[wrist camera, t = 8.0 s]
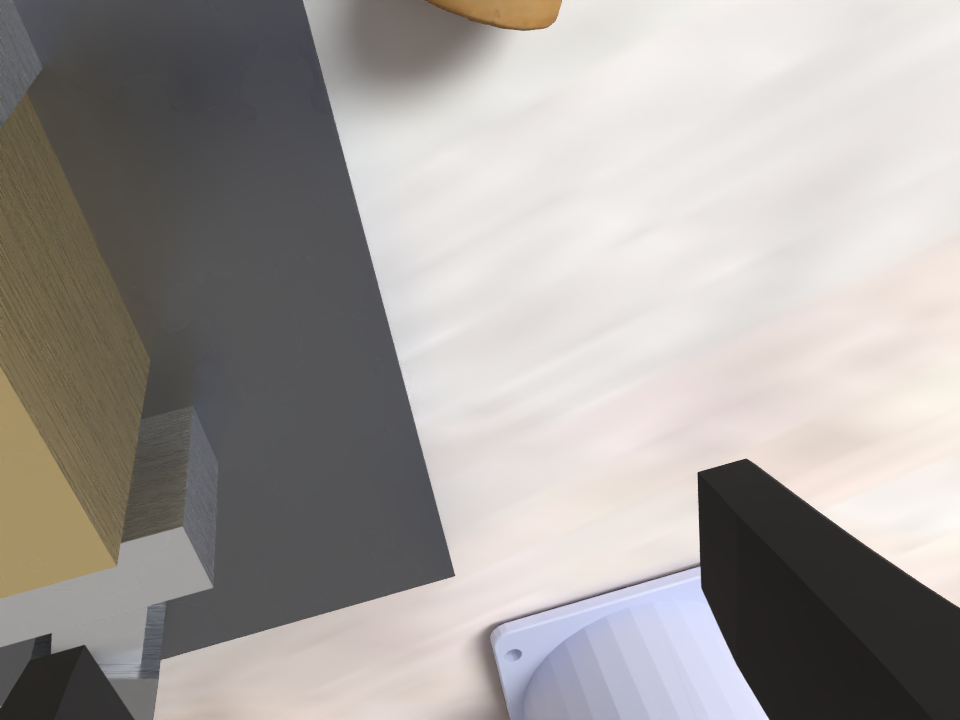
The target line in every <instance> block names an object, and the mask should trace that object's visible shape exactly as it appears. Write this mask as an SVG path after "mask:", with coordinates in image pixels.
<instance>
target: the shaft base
mask: <svg viewBox="0 0 960 720" xmlns="http://www.w3.org/2000/svg"><path fill="white" fill-rule="evenodd" d="M26 92H27V94H28V96H29V98H30V101H31V103H32V105H33V107H34V109H35V111H36V114H37V116H38V118H39V120H40V122H41V124H42V127H43V129H44V131H45V133H46V135H47V137H48V140H49V142H50V144H51V146H52V148H53V150H54V153H55V155H56V157H57V159H58V161H59V163H60V166H61V168H62V170H63V172H64V174H65V176H66V179H67V181H68V183H69V185H70V187H71V189H72V192H73V194H74V196H75V198H76V200H77V202H78V205H79V207H80V209H81V211H82V213H83V216H84V218H85V220H86V222H87V224H88V226H89V229H90V231H91V233H92V235H93V237H94V239H95V242H96V244H97V246H98V248H99V250H100V252H101V255H102V257H103V259H104V261H105V263H106V265H107V268H108V270H109V272H110V274H111V276H112V278H113V281H114V283H115V285H116V287H117V289H118V291H119V294H120V296H121V298H122V300H123V302H124V304H125V307H126V309H127V311H128V313H129V315H130V317H131V320H132V322H133V324H134V326H135V328H136V330H137V333H138V335H139V337H140V339H141V341H142V343H143V346H144V348H145V350H146V352H147V354H148V357H149V359H150V366H149V372H148V379H147V385H146V391H145V397H144V403H143V409H142V415H141V422H140V428H139V434H138V440H137V446H136V452H135V458H134V465H133V471H132V477H131V483H130V489H129V495H128V501H127V507H126V514H125V520H124V526H123V532H122V538H121V544H120V550H119V557H118V563H117V567H113V568H110V569H106V570H102V571H99V572H95V573H91V574H88V575H84V576H81V577H77V578H73V579H70V580H66V581H62V582H59V583H55V584H51V585H48V586H44V587H40V588H37V589H33V590H30V591H26V592H22V593H19V594H15V595H11V596H8V597H4V598H0V706H1V705H3V703H4V702H5V700H6V698H7V697H8V695H9V693H10V692H11V690H12V688H13V687H14V685H15V683H16V682H17V680H18V679H19V677H20V675H21V674H22V672H23V671H24V669H25V667H26V666H27V664H28V662H29V661H30V660H32V659H36V658H39V657H43V656H46V655H50V654H54V653H57V652H61V651H64V650H68V649H71V648H75V647H78V646H82V645H85V646H86V647H87V649H88V650H89V652H90V653H91V655H92V656H93V658H94V659H95V661H96V662H97V664H98V665H99V667H100V668H101V670H102V671H103V673H104V674H105V676H106V677H107V679H108V680H109V682H110V683H111V685H112V686H113V688H114V689H115V691H116V692H117V694H118V695H119V697H120V698H121V700H122V701H123V703H124V704H125V706H126V707H127V709H128V710H129V712H130V713H131V715H132V716H133V718H134V719H135V720H153V717H154V709H155V702H156V694H157V687H158V679H159V669H160V660H162V659H166V658H169V657H173V656H176V655H180V654H183V653H187V652H190V651H194V650H197V649H201V648H204V647H208V646H211V645H215V644H218V643H222V642H225V641H229V640H233V639H236V638H240V637H243V636H247V635H250V634H254V633H257V632H261V631H264V630H268V629H271V628H275V627H278V626H282V625H285V624H289V623H292V622H296V621H299V620H303V619H306V618H310V617H313V616H317V615H320V614H324V613H327V612H331V611H334V610H338V609H341V608H345V607H348V606H352V605H355V604H359V603H362V602H366V601H369V600H373V599H376V598H380V597H383V596H387V595H390V594H394V593H397V592H401V591H404V590H408V589H411V588H415V587H418V586H422V585H426V584H429V583H433V582H436V581H440V580H443V579H447V578H450V577H454V576H455V574H454V570H453V566H452V562H451V558H450V555H449V551H448V547H447V543H446V540H445V536H444V532H443V528H442V524H441V521H440V517H439V513H438V509H437V506H436V502H435V498H434V494H433V491H432V487H431V483H430V479H429V475H428V472H427V468H426V464H425V460H424V457H423V453H422V449H421V445H420V441H419V438H418V434H417V430H416V426H415V423H414V419H413V415H412V411H411V407H410V404H409V400H408V396H407V392H406V389H405V385H404V381H403V377H402V373H401V370H400V366H399V362H398V358H397V355H396V351H395V347H394V343H393V340H392V336H391V332H390V328H389V324H388V321H387V317H386V313H385V309H384V306H383V302H382V298H381V294H380V290H379V287H378V283H377V279H376V275H375V272H374V268H373V264H372V260H371V256H370V253H369V249H368V245H367V241H366V238H365V234H364V230H363V226H362V223H361V219H360V215H359V211H358V207H357V204H356V200H355V196H354V192H353V189H352V185H351V181H350V177H349V173H348V170H347V166H346V162H345V158H344V155H343V151H342V147H341V143H340V139H339V136H338V132H337V128H336V124H335V121H334V117H333V113H332V109H331V106H330V102H329V98H328V94H327V90H326V87H325V83H324V79H323V75H322V72H321V68H320V64H319V60H318V56H317V53H316V49H315V45H314V41H313V38H312V34H311V30H310V26H309V22H308V19H307V15H306V11H305V7H304V4H303V0H0V129H1V127H2V126H3V124H4V123H5V122H6V120H7V119H8V117H9V116H10V114H11V113H12V111H13V110H14V109H15V107H16V106H17V104H18V103H19V101H20V100H21V99H22V97H23V96H24V94H25V93H26Z"/></svg>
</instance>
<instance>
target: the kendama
mask: <svg viewBox="0 0 960 720" xmlns="http://www.w3.org/2000/svg"><path fill="white" fill-rule="evenodd" d="M425 1H427V2H429V3H431V4H433V5H435V6H437V7H439V8H441V9H444V10H446V11H448V12H451V13H454V14H457V15H460V16H463V17H466V18H468V19H469V20H471V21H474V22H478V23H482V24H486V25H491V26H495V27H498V28H503V29H513V30H521V31H525V30H535V29H543V28H547V27H549V26H550V25H551V24H552V23H554V22H555V21H556V19H557V16H558V13H559V9H560V6H561V2H562V0H425Z"/></svg>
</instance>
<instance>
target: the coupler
mask: <svg viewBox="0 0 960 720" xmlns="http://www.w3.org/2000/svg"><path fill="white" fill-rule="evenodd" d="M149 366H150V359H149V357H148V354H147V352H146V350H145V348H144V346H143V343H142V341H141V339H140V337H139V335H138V333H137V330H136V328H135V326H134V324H133V322H132V320H131V317H130V315H129V313H128V311H127V309H126V307H125V304H124V302H123V300H122V298H121V296H120V294H119V291H118V289H117V287H116V285H115V283H114V281H113V278H112V276H111V274H110V272H109V270H108V268H107V265H106V263H105V261H104V259H103V257H102V255H101V252H100V250H99V248H98V246H97V244H96V242H95V239H94V237H93V235H92V233H91V231H90V229H89V226H88V224H87V222H86V220H85V218H84V216H83V213H82V211H81V209H80V207H79V205H78V202H77V200H76V198H75V196H74V194H73V192H72V189H71V187H70V185H69V183H68V181H67V179H66V176H65V174H64V172H63V170H62V168H61V166H60V163H59V161H58V159H57V157H56V155H55V153H54V150H53V148H52V146H51V144H50V142H49V140H48V137H47V135H46V133H45V131H44V129H43V127H42V124H41V122H40V120H39V118H38V116H37V114H36V111H35V109H34V107H33V105H32V103H31V101H30V98H29V96H28V94H27V92H26V93H25V94H24V96H23V97H22V99H21V100H20V101H19V103H18V104H17V106H16V107H15V109H14V110H13V111H12V113H11V114H10V116H9V117H8V119H7V120H6V122H5V123H4V124H3V126H2V127H1V129H0V598H4V597H8V596H11V595H15V594H19V593H22V592H26V591H30V590H33V589H37V588H40V587H44V586H48V585H51V584H55V583H59V582H62V581H66V580H70V579H73V578H77V577H81V576H84V575H88V574H91V573H95V572H99V571H102V570H106V569H110V568H113V567H117V563H118V557H119V550H120V544H121V538H122V532H123V526H124V520H125V514H126V507H127V501H128V495H129V489H130V483H131V477H132V471H133V465H134V458H135V452H136V446H137V440H138V434H139V428H140V422H141V415H142V409H143V403H144V397H145V391H146V385H147V379H148V372H149Z"/></svg>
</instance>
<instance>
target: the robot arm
mask: <svg viewBox="0 0 960 720" xmlns="http://www.w3.org/2000/svg"><path fill="white" fill-rule="evenodd" d="M698 503H699V536H700V567H696V568H693V569H689V570H686V571H682V572H679V573H675V574H672V575H669V576H665V577H662V578H658V579H655V580H651V581H648V582H645V583H641V584H638V585H634V586H631V587H627V588H624V589H621V590H617V591H614V592H610V593H607V594H603V595H600V596H597V597H593V598H590V599H586V600H583V601H579V602H576V603H572V604H569V605H566V606H562V607H559V608H555V609H552V610H548V611H545V612H542V613H538V614H535V615H531V616H528V617H524V618H521V619H518V620H514V621H511V622H507V623H504V624H502V625H500V626H498V627H497V628H496V629H494V630H493V632H492V634H491V638H490V640H491V644H492V648H493V652H494V656H495V660H496V664H497V668H498V673H499V677H500V681H501V685H502V689H503V693H504V697H505V701H506V705H507V709H508V713H509V717H510V720H960V608H959V607H957V606H956V605H954V604H953V603H951V602H950V601H948V600H946V599H945V598H943V597H942V596H940V595H939V594H937V593H936V592H934V591H933V590H931V589H929V588H928V587H926V586H925V585H923V584H922V583H920V582H919V581H917V580H916V579H914V578H913V577H911V576H910V575H908V574H907V573H906V572H904V571H903V570H901V569H900V568H898V567H897V566H895V565H894V564H892V563H891V562H889V561H888V560H886V559H885V558H883V557H882V556H880V555H879V554H877V553H876V552H875V551H873V550H872V549H870V548H869V547H867V546H866V545H864V544H863V543H862V542H860V541H859V540H857V539H856V538H855V537H853V536H852V535H850V534H849V533H847V532H846V531H845V530H843V529H842V528H841V527H839V526H838V525H836V524H835V523H834V522H832V521H831V520H830V519H828V518H827V517H825V516H824V515H823V514H821V513H820V512H819V511H817V510H816V509H814V508H813V507H812V506H810V505H809V504H808V503H806V502H805V501H804V500H802V499H801V498H800V497H798V496H797V495H796V494H794V493H793V492H792V491H790V490H789V489H788V488H786V487H785V486H784V485H782V484H781V483H780V482H778V481H777V480H776V479H774V478H773V477H772V476H770V475H769V474H768V473H766V472H765V471H764V470H762V469H761V468H760V467H758V466H757V465H756V464H754V463H753V462H751V461H749V460H748V459H743V460H739V461H736V462H732V463H729V464H725V465H722V466H718V467H715V468H711V469H707V470H704V471H700V472H698ZM0 720H135V719H134V718H133V716H132V715H131V713H130V712H129V710H128V709H127V707H126V706H125V704H124V703H123V701H122V700H121V698H120V697H119V695H118V694H117V692H116V691H115V689H114V688H113V686H112V685H111V683H110V682H109V680H108V679H107V677H106V676H105V674H104V673H103V671H102V670H101V668H100V667H99V665H98V664H97V662H96V661H95V659H94V658H93V656H92V655H91V653H90V652H89V650H88V649H87V647H86V646H85V645H82V646H78V647H75V648H71V649H68V650H64V651H61V652H57V653H54V654H50V655H46V656H43V657H39V658H36V659H32V660H30V661H29V662H28V664H27V666H26V667H25V669H24V671H23V672H22V674H21V675H20V677H19V679H18V680H17V682H16V683H15V685H14V687H13V688H12V690H11V692H10V693H9V695H8V697H7V698H6V700H5V702H4V703H3V705H2V707H1V708H0Z"/></svg>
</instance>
